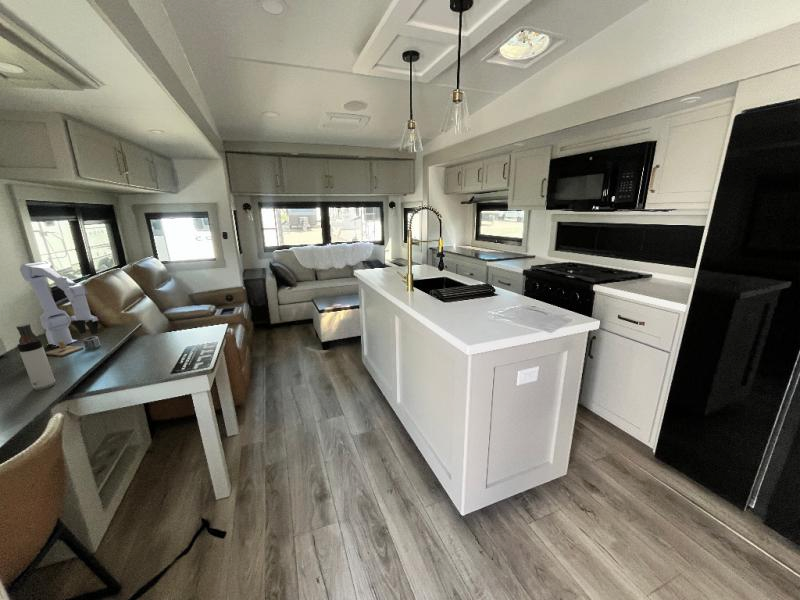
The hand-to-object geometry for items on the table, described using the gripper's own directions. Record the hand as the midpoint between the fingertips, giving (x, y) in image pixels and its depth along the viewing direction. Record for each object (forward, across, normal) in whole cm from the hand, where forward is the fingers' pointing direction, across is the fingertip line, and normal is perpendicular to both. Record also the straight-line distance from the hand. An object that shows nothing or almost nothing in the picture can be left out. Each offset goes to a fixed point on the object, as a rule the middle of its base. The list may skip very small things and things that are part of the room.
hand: (89, 333), depth 166 cm
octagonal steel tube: (+8, 0, 0) cm, 8 cm away
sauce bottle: (+8, -4, -20) cm, 22 cm away
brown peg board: (+8, -9, -7) cm, 14 cm away
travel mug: (+8, +23, -34) cm, 42 cm away
